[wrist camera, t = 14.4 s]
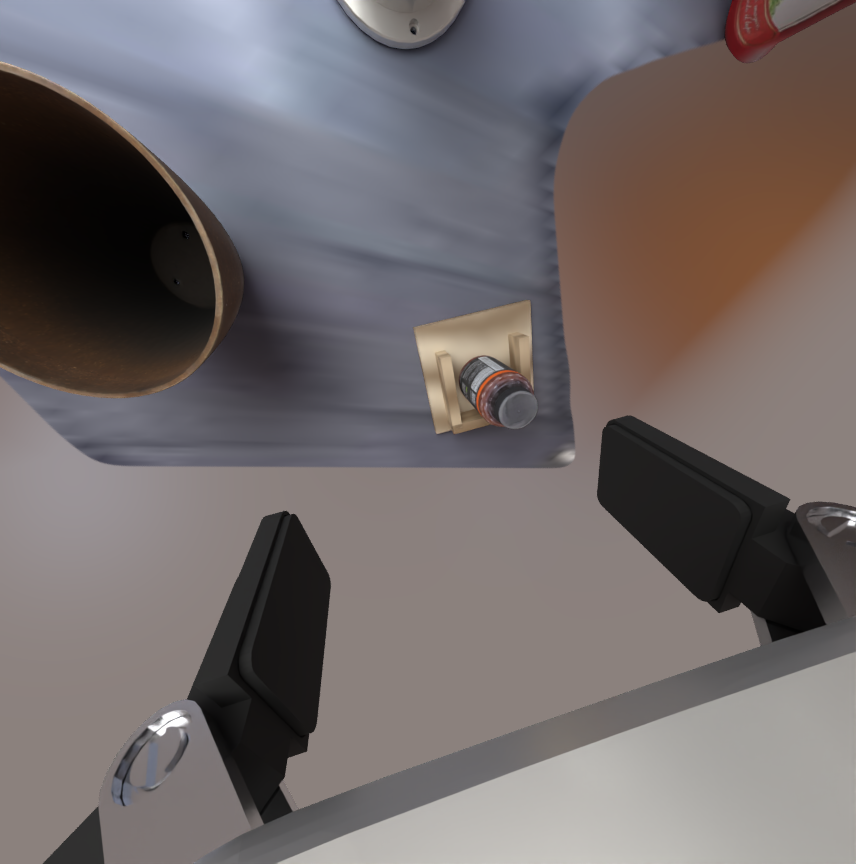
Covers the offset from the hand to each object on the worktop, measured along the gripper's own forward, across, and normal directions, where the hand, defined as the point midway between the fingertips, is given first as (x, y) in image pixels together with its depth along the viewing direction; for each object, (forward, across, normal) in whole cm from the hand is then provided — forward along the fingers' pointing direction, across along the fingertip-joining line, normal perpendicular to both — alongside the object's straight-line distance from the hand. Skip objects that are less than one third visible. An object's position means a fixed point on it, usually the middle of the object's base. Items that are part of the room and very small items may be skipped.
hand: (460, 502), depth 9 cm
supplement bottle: (+30, -10, +8) cm, 32 cm away
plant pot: (+31, +16, -10) cm, 36 cm away
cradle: (+30, -10, +7) cm, 33 cm away
